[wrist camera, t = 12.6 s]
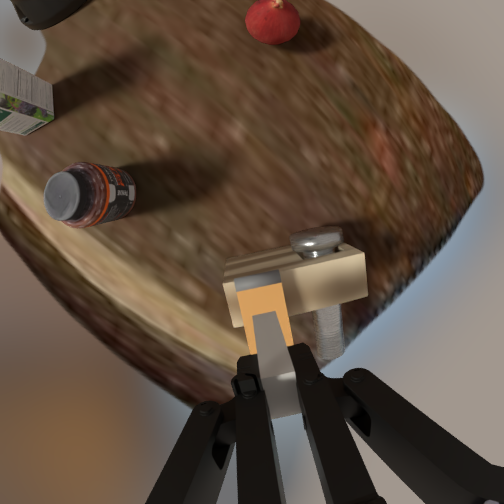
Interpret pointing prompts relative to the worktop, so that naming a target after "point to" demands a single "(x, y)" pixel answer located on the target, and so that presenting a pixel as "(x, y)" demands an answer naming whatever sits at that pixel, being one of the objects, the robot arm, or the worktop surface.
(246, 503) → the robot arm
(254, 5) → the onion
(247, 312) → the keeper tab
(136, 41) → the worktop surface
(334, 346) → the pin
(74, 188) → the supplement bottle
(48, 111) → the syrup box
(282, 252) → the block
